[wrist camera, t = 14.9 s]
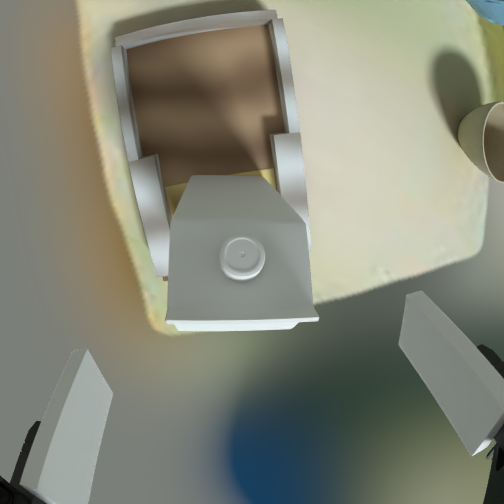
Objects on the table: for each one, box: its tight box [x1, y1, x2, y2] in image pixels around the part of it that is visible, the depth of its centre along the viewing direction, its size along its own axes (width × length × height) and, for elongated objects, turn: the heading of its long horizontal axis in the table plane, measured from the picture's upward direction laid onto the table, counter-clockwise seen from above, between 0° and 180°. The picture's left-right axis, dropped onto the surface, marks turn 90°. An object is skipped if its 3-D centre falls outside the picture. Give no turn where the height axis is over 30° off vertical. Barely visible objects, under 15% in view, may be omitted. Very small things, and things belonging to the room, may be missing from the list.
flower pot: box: [458, 102, 504, 183], centre depth 29 cm, size 10×10×7 cm
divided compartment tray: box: [111, 10, 311, 281], centre depth 29 cm, size 26×16×3 cm, turn 8°
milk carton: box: [165, 175, 319, 331], centre depth 23 cm, size 7×7×19 cm
